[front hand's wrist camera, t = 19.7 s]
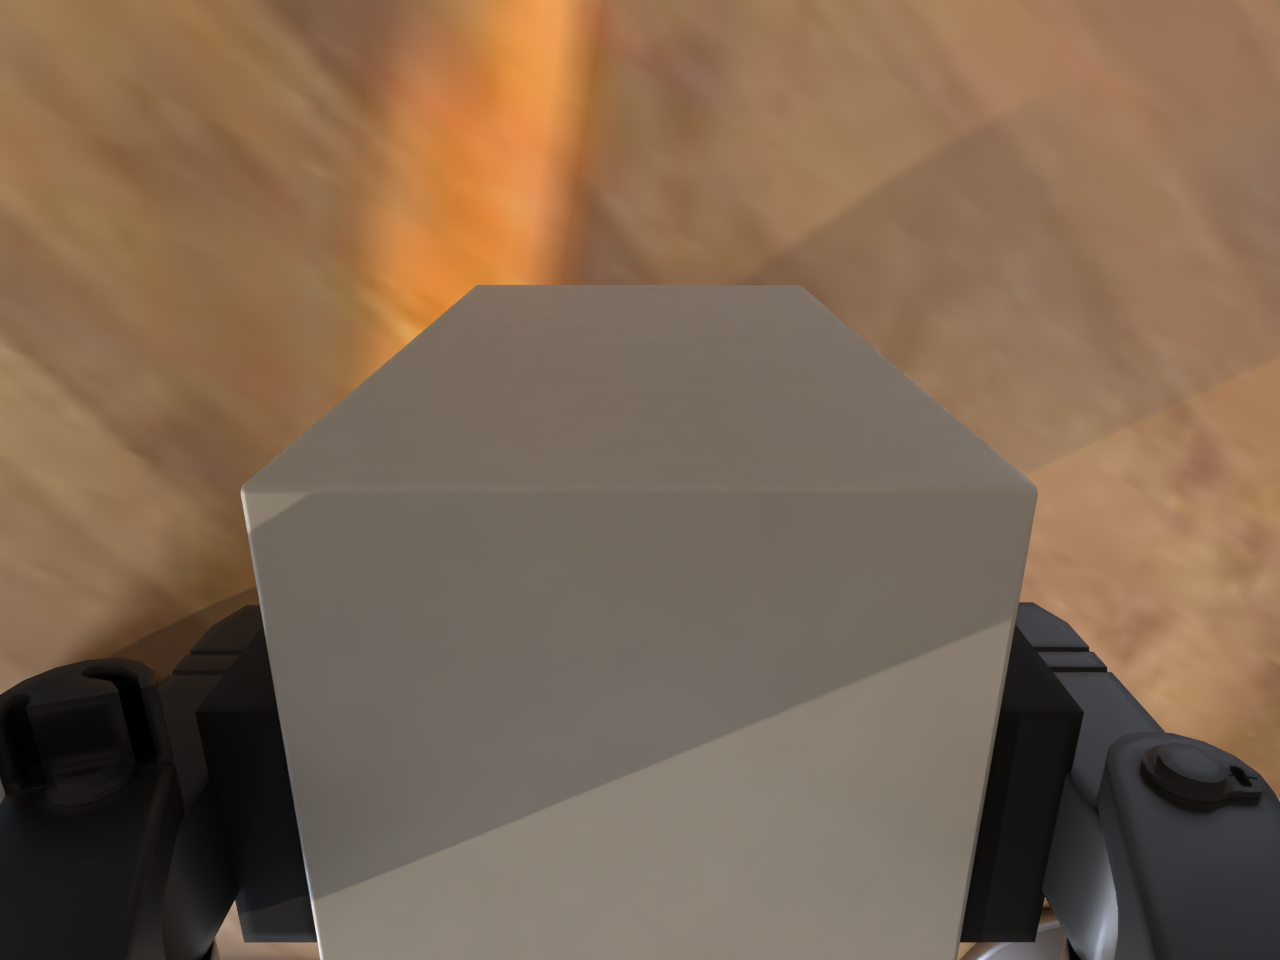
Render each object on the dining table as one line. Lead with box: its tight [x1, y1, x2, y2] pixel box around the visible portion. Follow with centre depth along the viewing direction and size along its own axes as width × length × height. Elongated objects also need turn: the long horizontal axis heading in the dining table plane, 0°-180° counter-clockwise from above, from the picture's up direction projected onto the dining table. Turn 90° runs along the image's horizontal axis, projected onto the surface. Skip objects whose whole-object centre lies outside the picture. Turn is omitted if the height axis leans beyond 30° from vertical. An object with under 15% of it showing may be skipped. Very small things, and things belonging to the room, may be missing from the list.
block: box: [241, 285, 1038, 960], centre depth 13 cm, size 7×6×11 cm
